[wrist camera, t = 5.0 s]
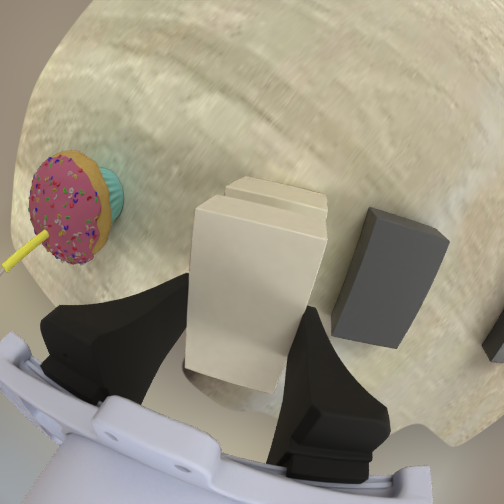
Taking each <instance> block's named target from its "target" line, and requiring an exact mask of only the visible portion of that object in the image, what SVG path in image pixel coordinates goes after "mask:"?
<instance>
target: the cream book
mask: <svg viewBox="0 0 504 504" xmlns="http://www.w3.org/2000/svg"><path fill="white" fill-rule="evenodd" d="M327 241H328V240H327V230H326V221H325V220H323V219H319V218H315V217H312V216H308V215H304V214H300V213H296V212H292V211H288V210H284V209H279V208H275V207H271V206H267V205H263V204H258V203H254V202H249V201H245V200H241V199H236V198H231V197H227V196H222V195H215V196H214V197H212V198H210V199H209V200H207V201H206V202H204V203H202V204H201V205H199V206H198V207H196V208H195V214H194V224H193V234H192V245H191V256H190V269H189V291H188V308H187V327H186V343H185V368H187V369H190V370H193V371H196V372H198V373H201V374H204V375H207V376H210V377H214V378H217V379H220V380H223V381H226V382H230V383H233V384H236V385H240V386H244V387H247V388H251V389H255V390H258V391H262V392H266V393H270V394H273V393H274V391H275V388H276V386H277V384H278V381H279V379H280V376H281V374H282V371H283V369H284V366H285V364H286V361H287V356H288V354H289V351H290V348H291V346H292V343H293V340H294V338H295V335H296V332H297V329H298V327H299V324H300V321H301V318H302V315H303V313H304V312H305V310H306V307H307V304H308V301H309V298H310V295H311V292H312V289H313V286H314V283H315V280H316V277H317V274H318V271H319V267H320V264H321V261H322V258H323V255H324V251H325V248H326V245H327Z"/></svg>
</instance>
